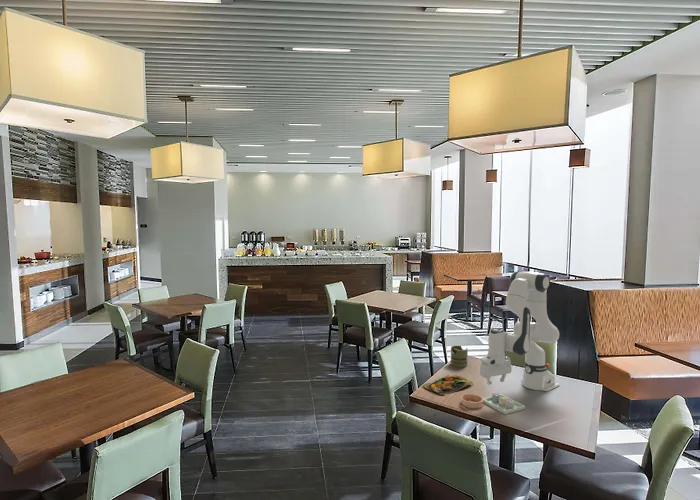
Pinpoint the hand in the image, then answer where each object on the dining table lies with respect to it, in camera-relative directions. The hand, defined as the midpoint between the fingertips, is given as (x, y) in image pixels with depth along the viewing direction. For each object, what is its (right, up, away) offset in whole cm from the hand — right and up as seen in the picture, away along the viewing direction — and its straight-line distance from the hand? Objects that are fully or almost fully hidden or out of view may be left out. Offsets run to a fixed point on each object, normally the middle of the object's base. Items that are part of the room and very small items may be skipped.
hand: (495, 382), depth 225 cm
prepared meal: (-21, -11, +24) cm, 34 cm away
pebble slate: (+1, -11, +1) cm, 11 cm away
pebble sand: (+3, -11, -4) cm, 12 cm away
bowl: (-13, -12, -1) cm, 18 cm away
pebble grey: (+5, -11, -8) cm, 15 cm away
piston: (-4, -8, +62) cm, 63 cm away
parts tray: (+3, -12, -3) cm, 12 cm away
